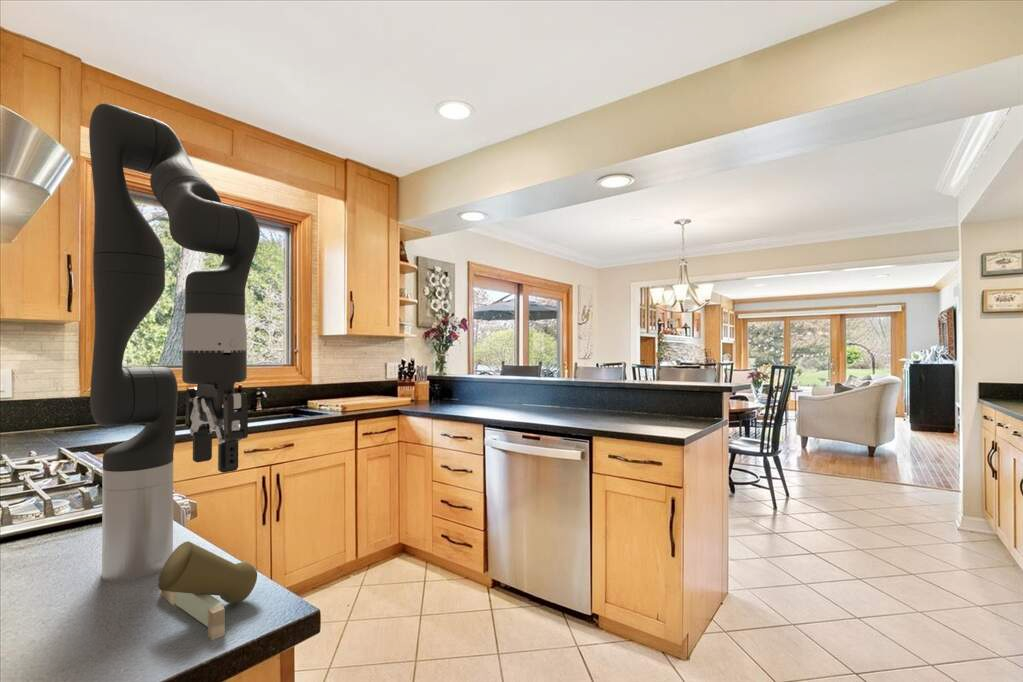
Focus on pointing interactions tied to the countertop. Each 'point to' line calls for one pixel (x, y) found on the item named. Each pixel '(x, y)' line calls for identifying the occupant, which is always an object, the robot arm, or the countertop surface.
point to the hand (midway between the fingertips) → (214, 466)
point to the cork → (206, 574)
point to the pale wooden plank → (214, 616)
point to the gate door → (197, 605)
